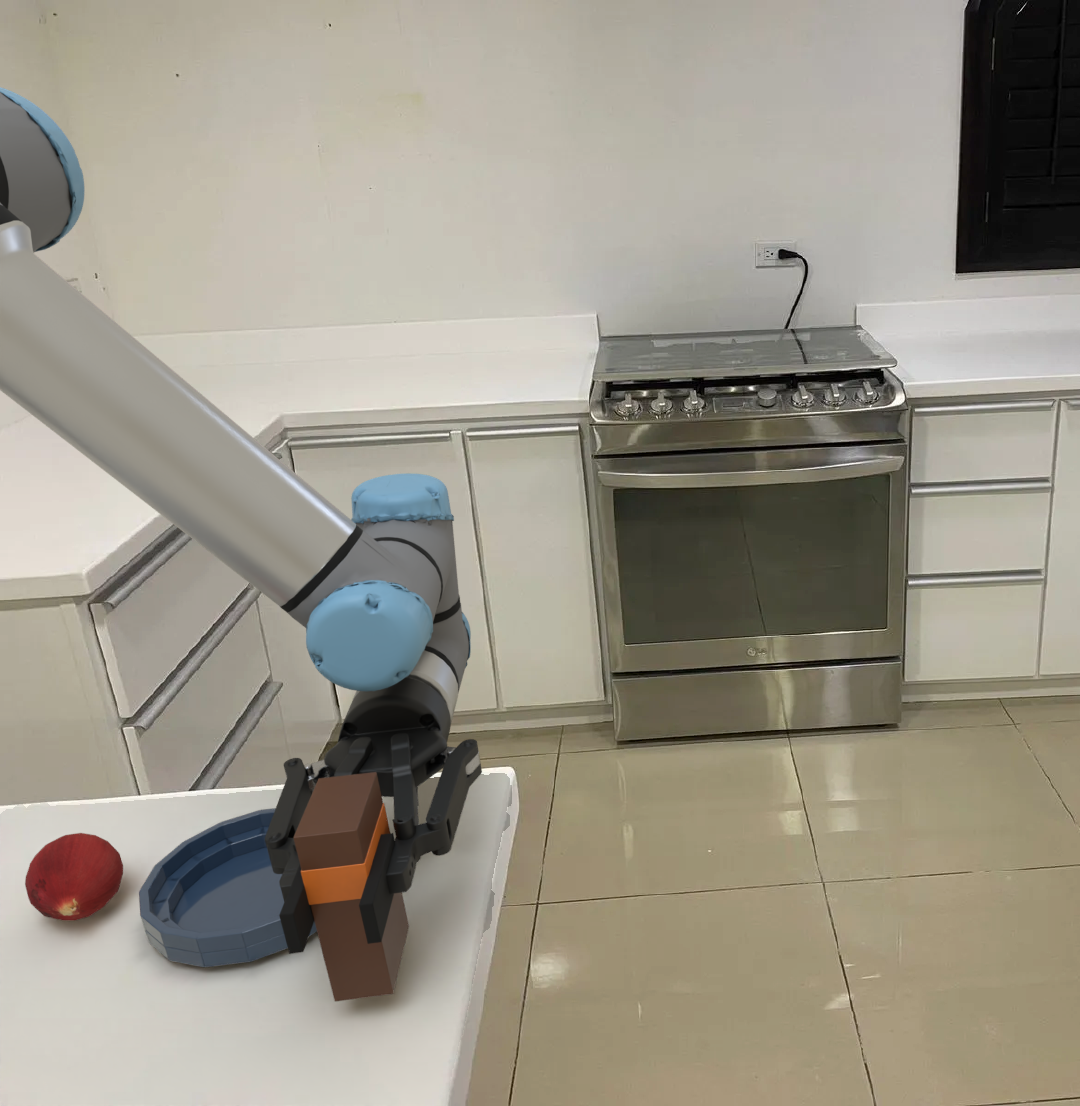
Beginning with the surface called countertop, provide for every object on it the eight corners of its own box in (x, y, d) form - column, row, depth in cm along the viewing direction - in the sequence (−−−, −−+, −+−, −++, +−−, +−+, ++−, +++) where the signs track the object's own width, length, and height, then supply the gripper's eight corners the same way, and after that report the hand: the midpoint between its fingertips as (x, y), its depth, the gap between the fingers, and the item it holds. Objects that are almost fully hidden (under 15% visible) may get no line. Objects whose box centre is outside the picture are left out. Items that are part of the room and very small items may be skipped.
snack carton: (333, 1002, 65) (291, 838, 61) (354, 933, 71) (317, 777, 66) (394, 994, 65) (357, 830, 61) (410, 925, 71) (377, 771, 66)
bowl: (116, 986, 70) (103, 949, 69) (192, 850, 83) (182, 818, 82) (341, 958, 71) (332, 922, 70) (380, 829, 84) (374, 796, 83)
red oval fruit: (70, 892, 80) (51, 965, 73) (17, 840, 77) (-8, 911, 70) (144, 850, 81) (133, 918, 74) (95, 797, 78) (78, 863, 71)
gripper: (518, 747, 84) (491, 962, 62) (298, 771, 82) (192, 1000, 61) (505, 661, 81) (472, 855, 60) (277, 685, 80) (158, 893, 58)
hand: (331, 928), depth 60 cm, fingers closed on snack carton, 4 cm apart
